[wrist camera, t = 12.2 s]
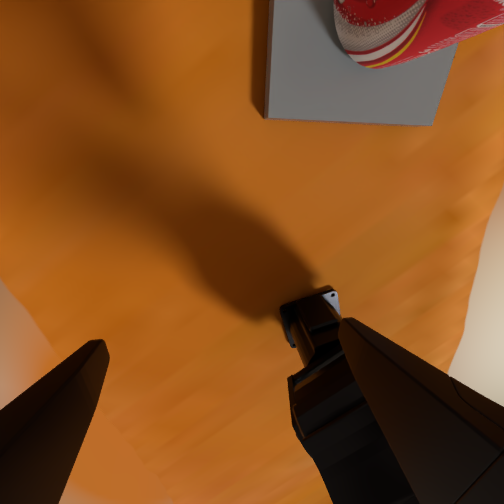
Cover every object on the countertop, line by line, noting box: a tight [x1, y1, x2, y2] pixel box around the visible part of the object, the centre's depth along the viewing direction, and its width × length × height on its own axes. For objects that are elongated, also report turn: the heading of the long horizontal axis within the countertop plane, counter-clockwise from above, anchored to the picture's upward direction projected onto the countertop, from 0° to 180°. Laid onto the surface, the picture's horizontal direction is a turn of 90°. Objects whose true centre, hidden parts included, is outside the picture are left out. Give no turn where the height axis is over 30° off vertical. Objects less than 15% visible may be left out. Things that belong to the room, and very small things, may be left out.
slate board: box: [264, 0, 459, 127], centre depth 15 cm, size 13×13×2 cm
